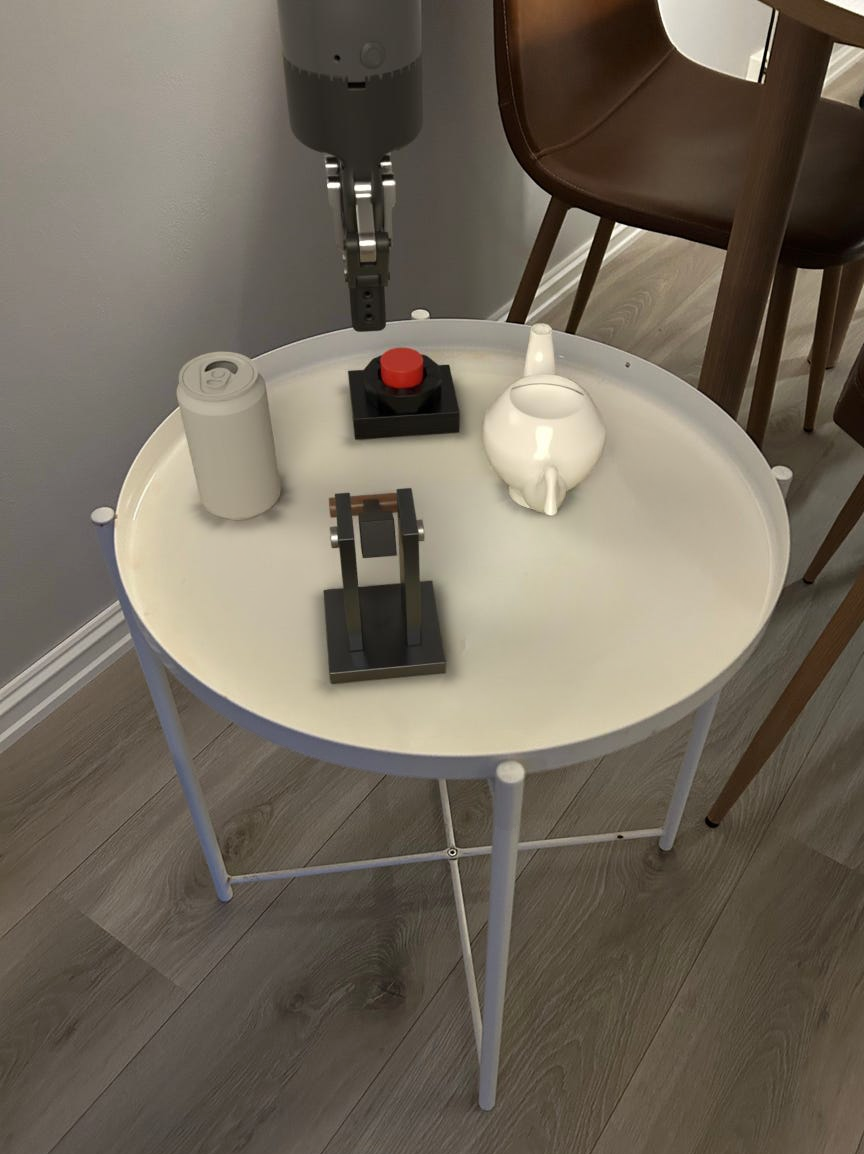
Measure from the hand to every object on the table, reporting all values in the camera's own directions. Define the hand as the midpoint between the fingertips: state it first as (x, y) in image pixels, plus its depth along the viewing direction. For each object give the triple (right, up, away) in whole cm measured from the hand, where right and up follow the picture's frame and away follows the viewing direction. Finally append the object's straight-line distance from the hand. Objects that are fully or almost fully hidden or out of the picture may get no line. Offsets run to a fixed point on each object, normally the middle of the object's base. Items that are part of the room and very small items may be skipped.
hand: (368, 325), depth 71 cm
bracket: (0, -20, +6) cm, 21 cm away
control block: (+1, -1, +24) cm, 24 cm away
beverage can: (-12, -10, +16) cm, 22 cm away
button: (+1, +2, +21) cm, 21 cm away
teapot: (+12, -9, +17) cm, 23 cm away
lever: (0, -14, +3) cm, 14 cm away
